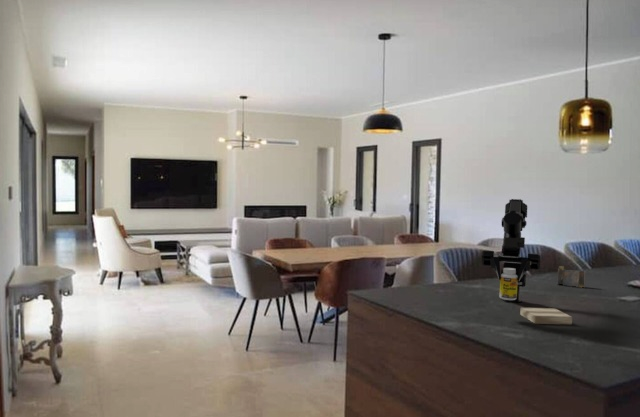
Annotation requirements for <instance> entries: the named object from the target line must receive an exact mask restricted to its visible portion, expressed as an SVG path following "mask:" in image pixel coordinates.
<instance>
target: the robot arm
mask: <svg viewBox="0 0 640 417" xmlns="http://www.w3.org/2000/svg"><path fill="white" fill-rule="evenodd" d="M504 208H505V209H504V216H503V217H502V218H501V227H502V228H503V232H504V234H503V241H502V245H501V254H499V253H495V251H494V250H490V249H489V250H487V249H484V250H482V252H481V264H482V266H485V267H490V268H491V269H493V270H494V271H495V273H496V275H497V278H498V281H500V275H501V274H502V273H503V268H514V269H516V275H517V276H518V285H517V299H516V300H504V299H501V300H502V301H504V302H506V303H523V300H521V299H520V296H521V295H520V292H521V291H520V290H521V289H520V288H524V287H526V282H527V280H526V279H527V275H526V273H527V272H529V271H531V270H535V271H536V270H537V271H538V270H540V269H541V268H540V267H541V255H540V254H539V253H530V252H529V253H527V257H523V256H521V249H525V242H526V238H525V237H522V231H523V229H525V228H526V227H527V221H526V218H528V205H527V204H526V203H524V200H523V199H521V198H519V199H518V198H517V199H515V198H511V199H509V202H507V203H505V207H504ZM500 262H502V263H503V268H502V269H501V264H500Z"/></svg>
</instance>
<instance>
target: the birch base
mask: <svg viewBox="0 0 640 417" xmlns="http://www.w3.org/2000/svg"><path fill="white" fill-rule="evenodd" d="M519 309H520V312H519V313H520V314H519V315H520V316H522V317H523V318H525V319H527V320H529V321H530V322H532V323H533V324H536V325H539V324H543V325H544V324H545V325H573V316H571V315H569V314H568V313H565V312H563V311H561V310H559V309H557V308H555V307H554V308H553V307H552V308H551V307H548V308H547V307H520V308H519Z"/></svg>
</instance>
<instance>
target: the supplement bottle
mask: <svg viewBox="0 0 640 417" xmlns="http://www.w3.org/2000/svg"><path fill="white" fill-rule="evenodd" d="M502 269H503V273H502V274H501V273H500V280H499V293H498V295H499V296H498V297H499V298H500V299H501V300H502V299H504V300H516V299H517V285H518V276H517V275H516V269H514V268H502ZM504 300H503V301H504Z"/></svg>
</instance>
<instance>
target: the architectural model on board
mask: <svg viewBox="0 0 640 417" xmlns="http://www.w3.org/2000/svg"><path fill="white" fill-rule="evenodd" d="M556 280H557V281H556V282H557V283H556V284H558V285H559V284H563V285H567V286H566V287H572V286H576V287H575V288H582V287H584V288H585V285H586V283H585V280H586V271H585V270H573V269H565V266H562V265H558V269H557V279H556ZM563 285H562V286H563Z"/></svg>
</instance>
